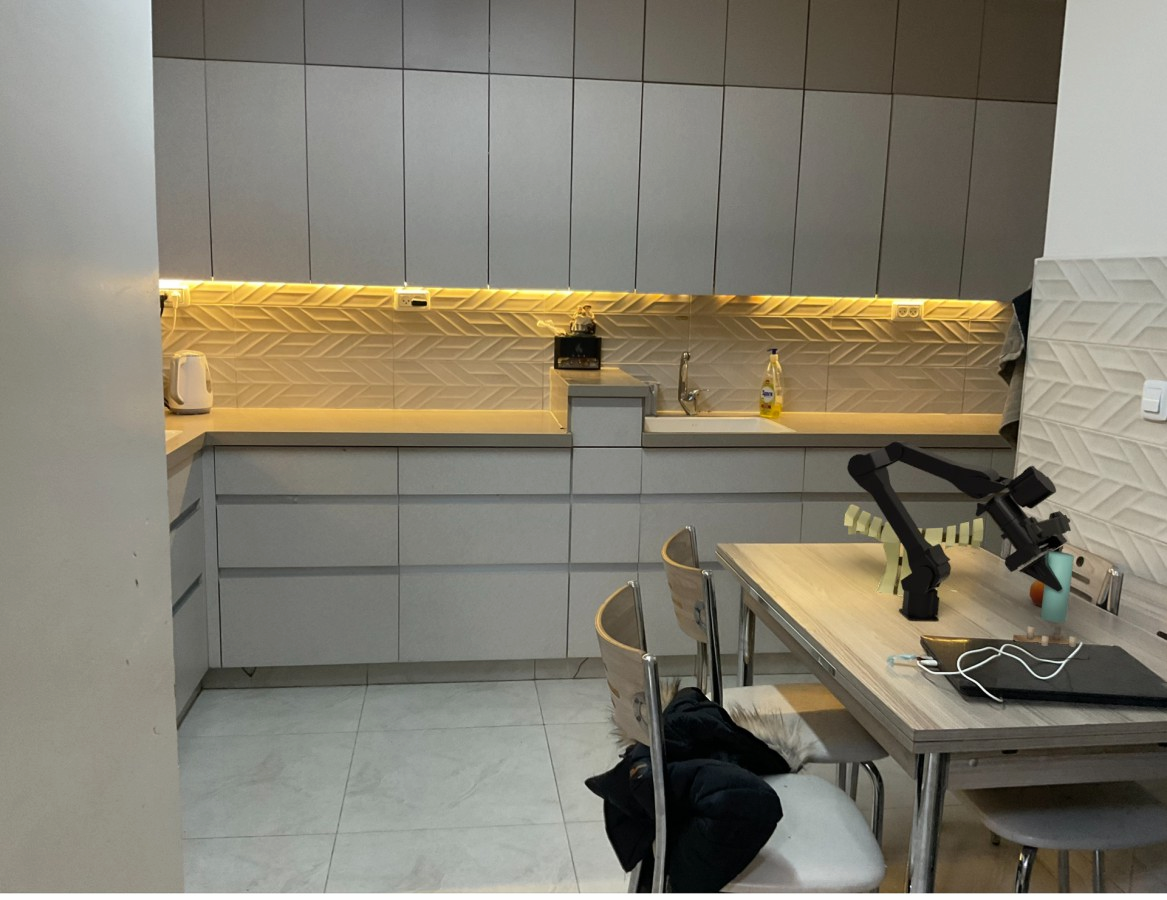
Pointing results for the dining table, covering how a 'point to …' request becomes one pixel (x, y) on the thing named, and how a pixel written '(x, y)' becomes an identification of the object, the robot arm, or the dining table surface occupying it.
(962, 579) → the dining table surface
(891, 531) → the slatted curved stool
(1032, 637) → the base
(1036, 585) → the fruit
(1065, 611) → the post
